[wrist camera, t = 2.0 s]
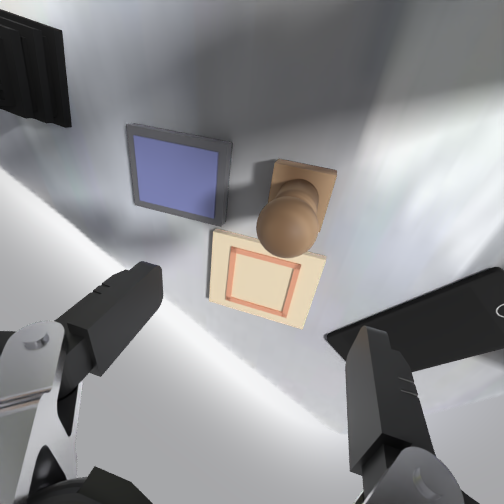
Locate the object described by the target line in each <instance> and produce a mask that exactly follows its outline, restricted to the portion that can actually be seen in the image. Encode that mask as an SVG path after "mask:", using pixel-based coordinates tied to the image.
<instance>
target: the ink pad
mask: <svg viewBox="0 0 504 504" xmlns="http://www.w3.org/2000/svg"><path fill="white" fill-rule="evenodd" d="M126 127H127V136H128V145H129V154H130V163H131V172H132V181H133V191H134V200H135V205H137V206H141V207H145V208H149V209H153V210H157V211H161V212H165V213H169V214H173V215H177V216H180V217H184V218H188V219H192V220H196V221H200V222H204V223H208V224H212V225H216V226H220V227H222V225H223V224H224V223H225V222H226V210H227V199H228V187H229V176H230V165H231V153H232V142H228V141H223V140H218V139H212V138H207V137H202V136H197V135H192V134H187V133H182V132H176V131H171V130H166V129H161V128H156V127H151V126H146V125H141V124H135V123H133V124H126Z"/></svg>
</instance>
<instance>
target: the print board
mask: <svg viewBox="0 0 504 504" xmlns="http://www.w3.org/2000/svg"><path fill="white" fill-rule="evenodd" d="M325 262H326V256H323V255H319V254H315V253H311V252H305V253H304V254H302V255H300V256H298V257H294V258H280V257H277V256H274V255H272V254H271V253H269V252H268V251H267V250H266V249H265V248H264V247H263V246H262V245H261V243H260V241H259V239H256V238H252V237H248V236H244V235H240V234H236V233H232V232H228V231H225V230H221V229H217V228H216V229H215V230H214V231H213V243H212V260H211V276H210V292H209V301H210V302H213V303H217V304H220V305H223V306H227V307H230V308H233V309H237V310H240V311H243V312H246V313H250V314H253V315H256V316H260V317H263V318H266V319H270V320H273V321H276V322H279V323H283V324H286V325H289V326H293V327H296V328H299V329H303V327H304V324H305V321H306V318H307V315H308V312H309V309H310V306H311V303H312V300H313V297H314V294H315V292H316V289H317V286H318V283H319V280H320V277H321V274H322V271H323V268H324V265H325Z"/></svg>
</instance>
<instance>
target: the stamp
mask: <svg viewBox="0 0 504 504" xmlns="http://www.w3.org/2000/svg"><path fill="white" fill-rule="evenodd" d="M336 177H337V170H333V169H328V168H323V167H318V166H313V165H308V164H303V163H298V162H293V161H288V160H283V159H278V160H277V161H276V162H275V164H274V170H273V176H272V181H271V187H270V193H269V199H268V204H267V205H266V206H265V207H264V208H263V209H262V211H261V212H260V214H259V217H258V220H257V226H256V230H257V236H258V239H259V241H260V243H261V245H262V246H263V247H264V248H265V249H266V250H267V251H268V252H269V253H271V254H272V255H274V256H277V257H280V258H294V257H298V256H300V255H302V254H304V253H305V252H307V251H308V250H309V249H310V248H311V247H312V245H313V244H314V242H315V241H316V238H317V235H318V232H320V230H321V226H322V223H323V220H324V216H325V213H326V210H327V207H328V203H329V200H330V197H331V193H332V190H333V187H334V184H335V180H336Z"/></svg>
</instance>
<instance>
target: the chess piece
mask: <svg viewBox="0 0 504 504" xmlns="http://www.w3.org/2000/svg"><path fill="white" fill-rule="evenodd" d="M0 109H3V110H5V111H8V112H10V113H13V114H16V115H18V116H21V117H23V118H34V119H37V120H39V121H42V122H45V123H54V124H57V125H60V126H62V127H65V128H66V127H72V126H71V116H70V106H69V96H68V86H67V76H66V66H65V56H64V46H63V36H62V30H59V29H56V28H53V27H50V26H47V25H44V24H42V23H39V22H36V21H33V20H30V19H27V18H24V17H21V16H19V15H16V14H13V13H10V12H7V11H4V10H1V9H0Z"/></svg>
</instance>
